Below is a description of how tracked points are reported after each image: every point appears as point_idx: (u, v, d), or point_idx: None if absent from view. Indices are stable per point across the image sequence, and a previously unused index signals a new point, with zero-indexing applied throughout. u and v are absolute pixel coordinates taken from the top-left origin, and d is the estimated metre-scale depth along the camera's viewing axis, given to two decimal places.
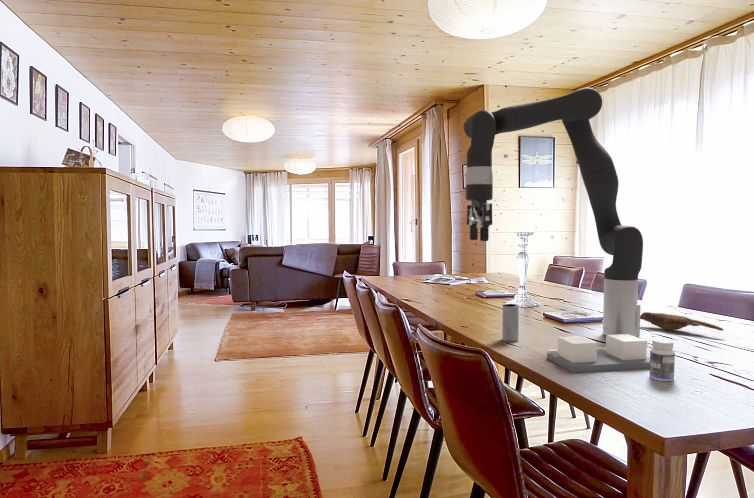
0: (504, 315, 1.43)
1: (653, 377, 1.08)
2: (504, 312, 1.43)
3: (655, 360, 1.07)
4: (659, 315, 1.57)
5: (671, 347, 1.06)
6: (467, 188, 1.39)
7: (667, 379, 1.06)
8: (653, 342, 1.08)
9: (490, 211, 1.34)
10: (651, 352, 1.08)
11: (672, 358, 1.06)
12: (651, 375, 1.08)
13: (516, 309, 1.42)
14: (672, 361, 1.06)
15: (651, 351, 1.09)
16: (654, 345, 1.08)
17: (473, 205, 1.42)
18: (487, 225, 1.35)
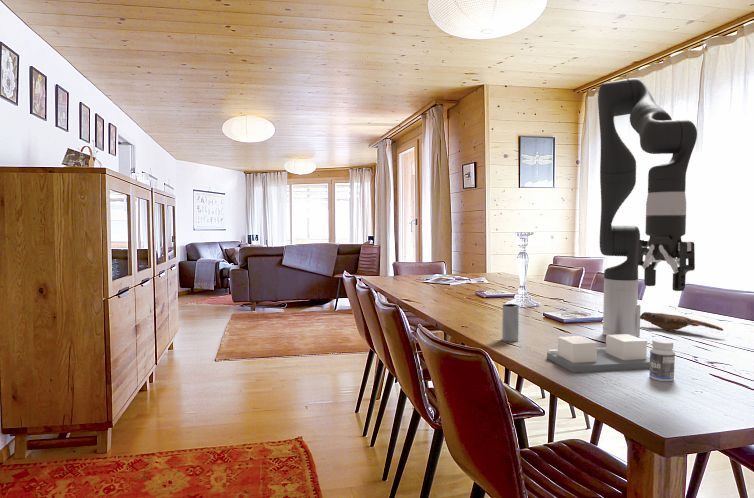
0: (504, 315, 1.43)
1: (653, 377, 1.08)
2: (504, 312, 1.43)
3: (655, 360, 1.07)
4: (659, 315, 1.57)
5: (671, 347, 1.06)
6: (652, 220, 1.06)
7: (667, 379, 1.06)
8: (653, 342, 1.08)
9: (692, 252, 1.00)
10: (651, 352, 1.08)
11: (672, 358, 1.06)
12: (651, 375, 1.08)
13: (516, 309, 1.42)
14: (672, 361, 1.06)
15: (651, 351, 1.09)
16: (654, 345, 1.08)
17: (655, 241, 1.08)
18: (686, 271, 1.01)
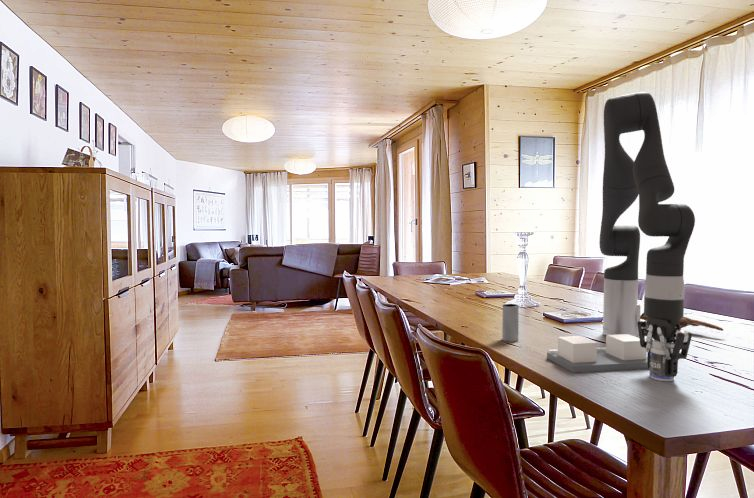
0: (504, 315, 1.43)
1: (653, 377, 1.08)
2: (504, 312, 1.43)
3: (655, 360, 1.07)
4: None
5: None
6: (650, 303, 1.07)
7: (667, 379, 1.06)
8: (653, 342, 1.08)
9: (687, 344, 1.02)
10: (651, 352, 1.08)
11: None
12: (651, 375, 1.08)
13: (516, 309, 1.42)
14: None
15: (651, 351, 1.09)
16: (654, 345, 1.08)
17: (653, 322, 1.09)
18: (678, 358, 1.04)
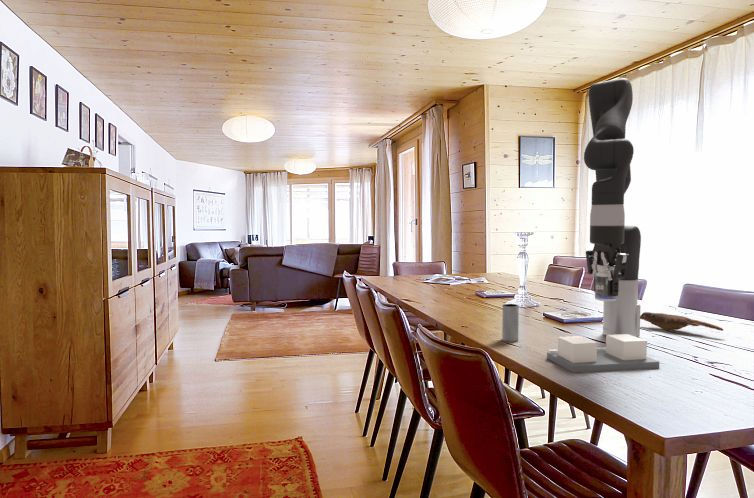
0: (504, 315, 1.43)
1: (598, 298, 1.19)
2: (504, 312, 1.43)
3: (599, 282, 1.18)
4: (659, 315, 1.57)
5: None
6: (594, 230, 1.17)
7: (609, 299, 1.17)
8: (598, 267, 1.19)
9: (626, 264, 1.13)
10: (596, 276, 1.19)
11: None
12: (596, 297, 1.19)
13: (516, 309, 1.42)
14: None
15: (596, 275, 1.19)
16: (598, 269, 1.19)
17: (598, 249, 1.20)
18: (619, 278, 1.15)
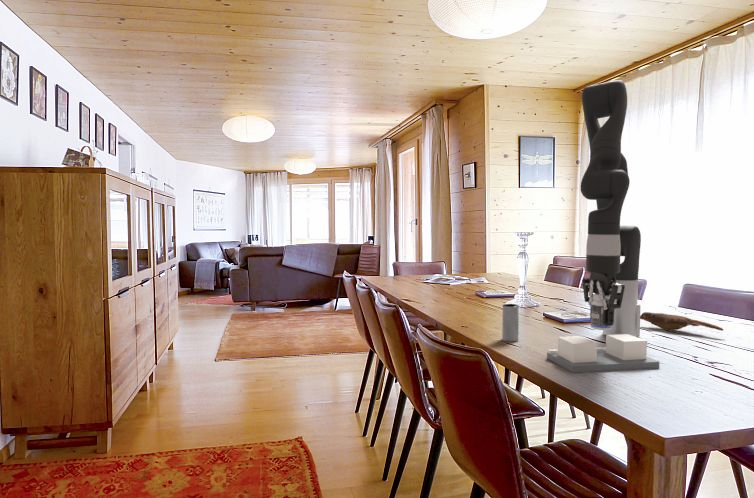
0: (504, 315, 1.43)
1: (593, 327, 1.19)
2: (504, 312, 1.43)
3: (595, 311, 1.19)
4: (659, 315, 1.57)
5: None
6: (590, 259, 1.18)
7: (605, 328, 1.18)
8: (593, 295, 1.20)
9: (621, 294, 1.14)
10: (592, 304, 1.20)
11: None
12: (592, 325, 1.20)
13: (516, 309, 1.42)
14: None
15: (592, 303, 1.20)
16: (594, 298, 1.19)
17: (594, 277, 1.21)
18: (614, 308, 1.15)
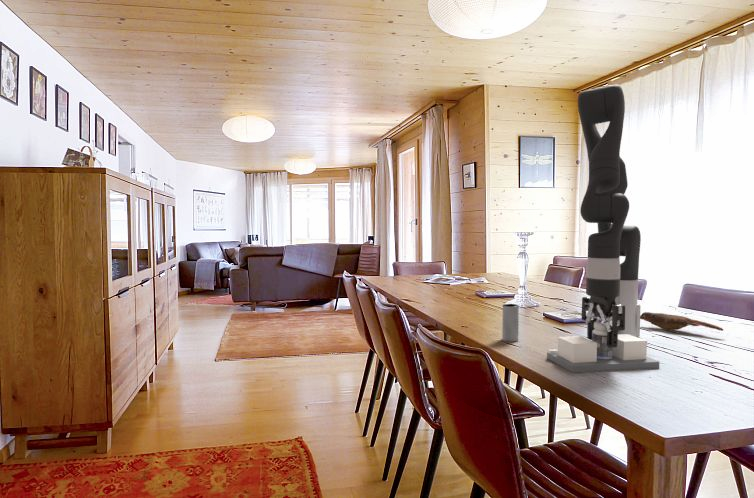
0: (504, 315, 1.43)
1: None
2: (504, 312, 1.43)
3: (595, 340, 1.19)
4: (659, 315, 1.57)
5: None
6: (590, 282, 1.18)
7: (605, 357, 1.18)
8: (594, 324, 1.20)
9: (623, 315, 1.13)
10: (592, 333, 1.20)
11: None
12: None
13: (516, 309, 1.42)
14: None
15: (592, 332, 1.20)
16: (595, 327, 1.20)
17: (594, 300, 1.21)
18: (618, 330, 1.14)
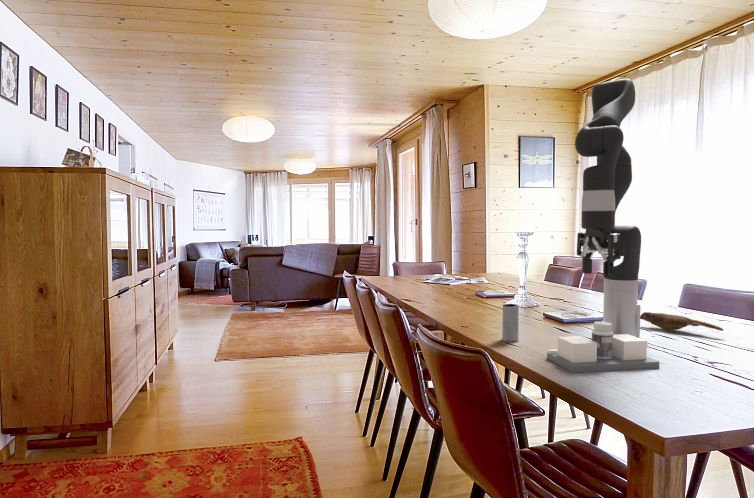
0: (504, 315, 1.43)
1: None
2: (504, 312, 1.43)
3: (595, 340, 1.19)
4: (659, 315, 1.57)
5: (609, 328, 1.18)
6: (585, 215, 1.20)
7: (605, 357, 1.18)
8: (594, 324, 1.20)
9: (618, 243, 1.15)
10: (592, 333, 1.20)
11: (610, 338, 1.18)
12: None
13: (516, 309, 1.42)
14: (610, 341, 1.18)
15: (592, 332, 1.20)
16: (595, 327, 1.20)
17: (590, 234, 1.22)
18: (614, 259, 1.15)
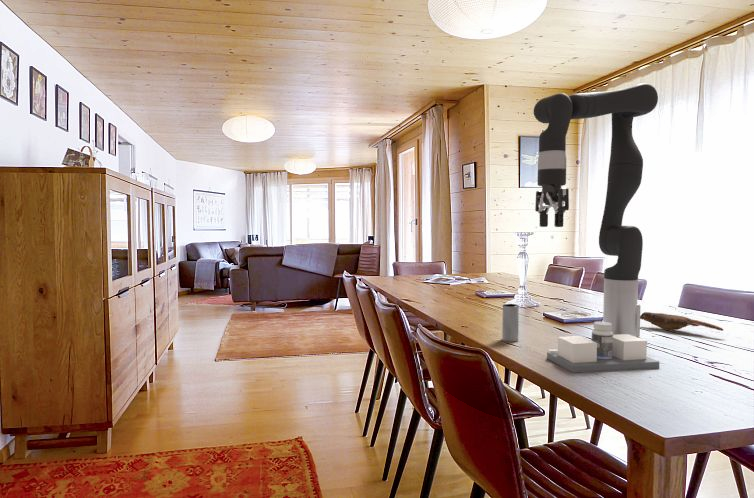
0: (504, 315, 1.43)
1: None
2: (504, 312, 1.43)
3: (595, 340, 1.19)
4: (659, 315, 1.57)
5: (609, 328, 1.18)
6: (540, 173, 1.36)
7: (605, 357, 1.18)
8: (594, 324, 1.20)
9: (566, 196, 1.31)
10: (592, 333, 1.20)
11: (610, 338, 1.18)
12: None
13: (516, 309, 1.42)
14: (610, 341, 1.18)
15: (592, 332, 1.20)
16: (594, 327, 1.20)
17: (545, 191, 1.39)
18: (563, 210, 1.32)
